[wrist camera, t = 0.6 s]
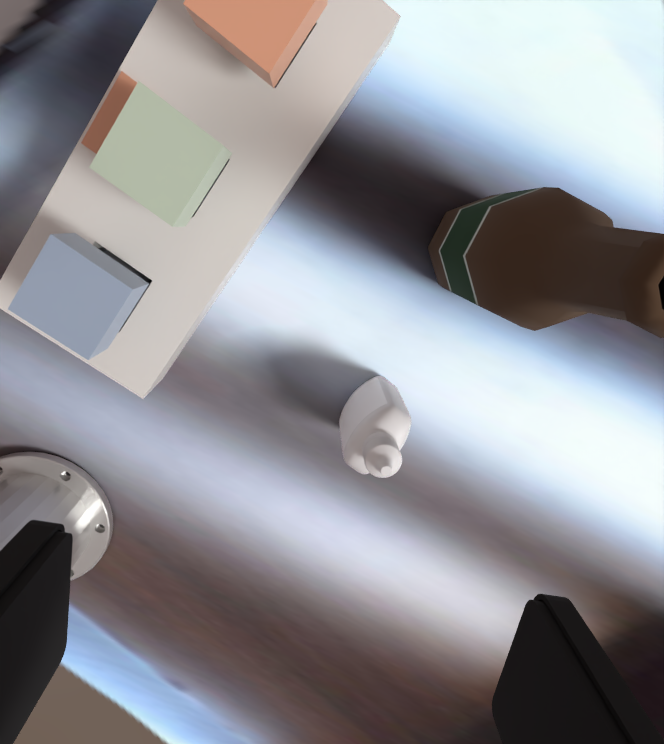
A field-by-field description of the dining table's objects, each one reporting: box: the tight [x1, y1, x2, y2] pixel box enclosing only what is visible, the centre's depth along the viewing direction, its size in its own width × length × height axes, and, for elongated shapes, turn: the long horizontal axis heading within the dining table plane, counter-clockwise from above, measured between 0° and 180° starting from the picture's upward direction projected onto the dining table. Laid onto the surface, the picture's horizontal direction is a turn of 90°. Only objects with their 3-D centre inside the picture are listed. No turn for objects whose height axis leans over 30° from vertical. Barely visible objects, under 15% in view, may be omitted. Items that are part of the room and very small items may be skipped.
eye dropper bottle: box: [339, 376, 411, 478], centre depth 37 cm, size 4×6×12 cm
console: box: [0, 0, 401, 399], centre depth 35 cm, size 30×12×5 cm, turn 144°
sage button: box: [89, 81, 232, 227], centre depth 31 cm, size 5×5×8 cm
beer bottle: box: [428, 187, 664, 338], centre depth 28 cm, size 8×8×24 cm
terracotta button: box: [183, 0, 328, 88], centre depth 29 cm, size 5×5×8 cm
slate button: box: [8, 233, 152, 360], centre depth 33 cm, size 5×5×8 cm
